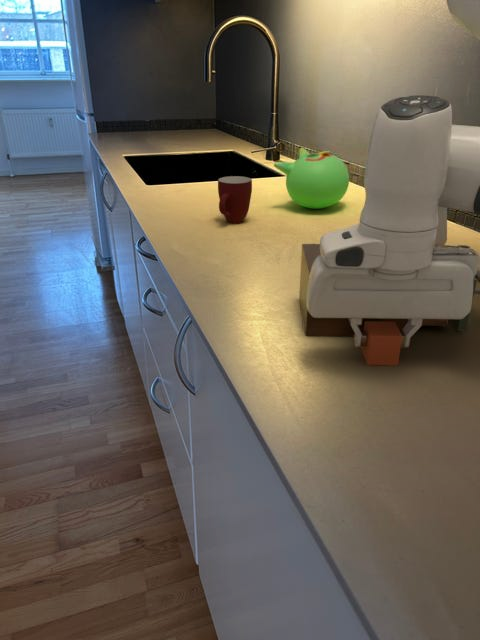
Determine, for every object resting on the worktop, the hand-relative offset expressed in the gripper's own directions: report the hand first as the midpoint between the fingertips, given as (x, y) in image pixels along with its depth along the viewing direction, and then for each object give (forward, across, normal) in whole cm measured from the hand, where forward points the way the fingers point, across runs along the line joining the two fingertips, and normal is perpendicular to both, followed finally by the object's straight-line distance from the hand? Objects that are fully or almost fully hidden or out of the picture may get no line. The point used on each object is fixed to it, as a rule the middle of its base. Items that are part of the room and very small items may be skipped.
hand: (380, 344), depth 67 cm
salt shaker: (+2, -20, -44) cm, 48 cm away
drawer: (+1, -9, -12) cm, 15 cm away
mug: (+2, +22, -62) cm, 66 cm away
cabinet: (+2, +2, -12) cm, 12 cm away
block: (+2, 0, 0) cm, 2 cm away
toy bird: (+2, +1, -77) cm, 77 cm away
